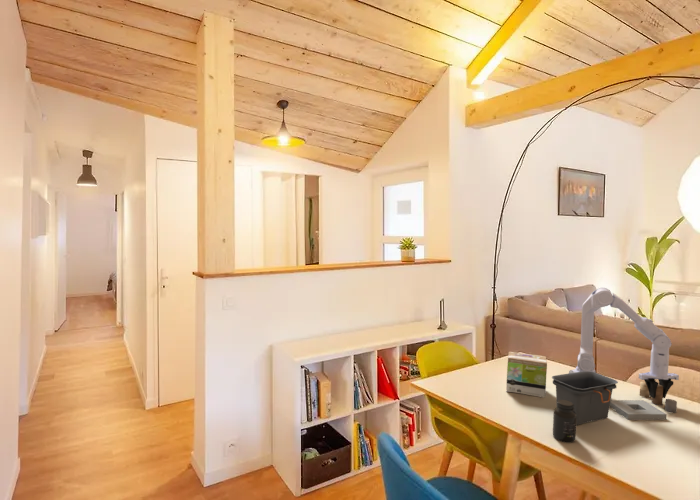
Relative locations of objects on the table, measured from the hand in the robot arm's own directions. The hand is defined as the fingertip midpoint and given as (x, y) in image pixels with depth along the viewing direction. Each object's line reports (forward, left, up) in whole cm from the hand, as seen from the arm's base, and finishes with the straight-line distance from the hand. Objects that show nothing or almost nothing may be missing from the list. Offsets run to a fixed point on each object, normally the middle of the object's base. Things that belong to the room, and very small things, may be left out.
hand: (657, 397), depth 168 cm
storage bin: (-36, -13, -3) cm, 38 cm away
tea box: (-47, +12, -3) cm, 49 cm away
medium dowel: (0, +7, -2) cm, 7 cm away
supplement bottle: (-51, -27, -3) cm, 58 cm away
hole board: (-14, -8, -2) cm, 16 cm away
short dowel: (0, -7, -2) cm, 7 cm away
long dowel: (0, 0, -2) cm, 2 cm away
